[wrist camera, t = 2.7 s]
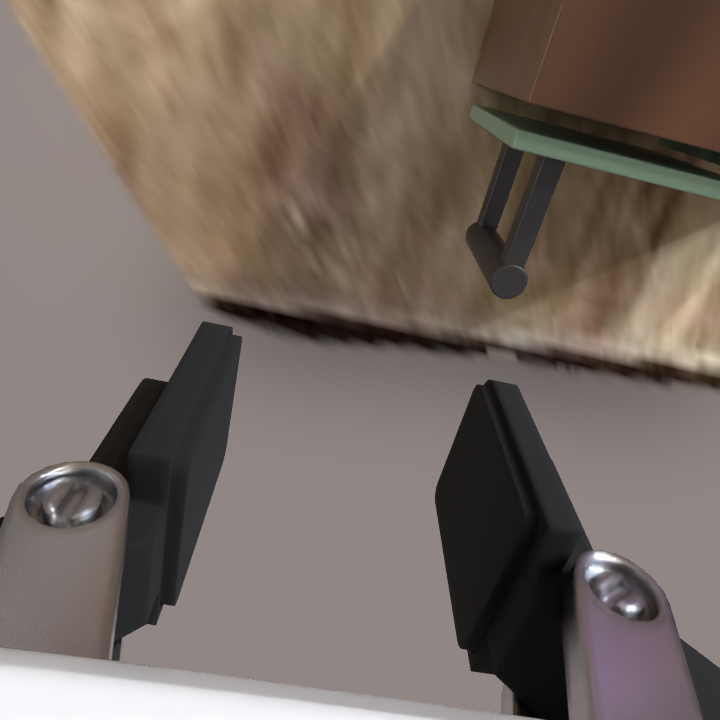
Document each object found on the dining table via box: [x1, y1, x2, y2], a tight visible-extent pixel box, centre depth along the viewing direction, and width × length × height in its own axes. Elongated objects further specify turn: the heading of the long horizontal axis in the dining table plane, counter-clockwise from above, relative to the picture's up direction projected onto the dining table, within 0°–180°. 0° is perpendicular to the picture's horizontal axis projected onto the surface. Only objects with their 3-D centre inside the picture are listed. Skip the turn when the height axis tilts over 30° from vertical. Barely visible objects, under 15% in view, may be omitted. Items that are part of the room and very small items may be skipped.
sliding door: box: [466, 104, 720, 299], centre depth 24 cm, size 9×6×8 cm, turn 77°
